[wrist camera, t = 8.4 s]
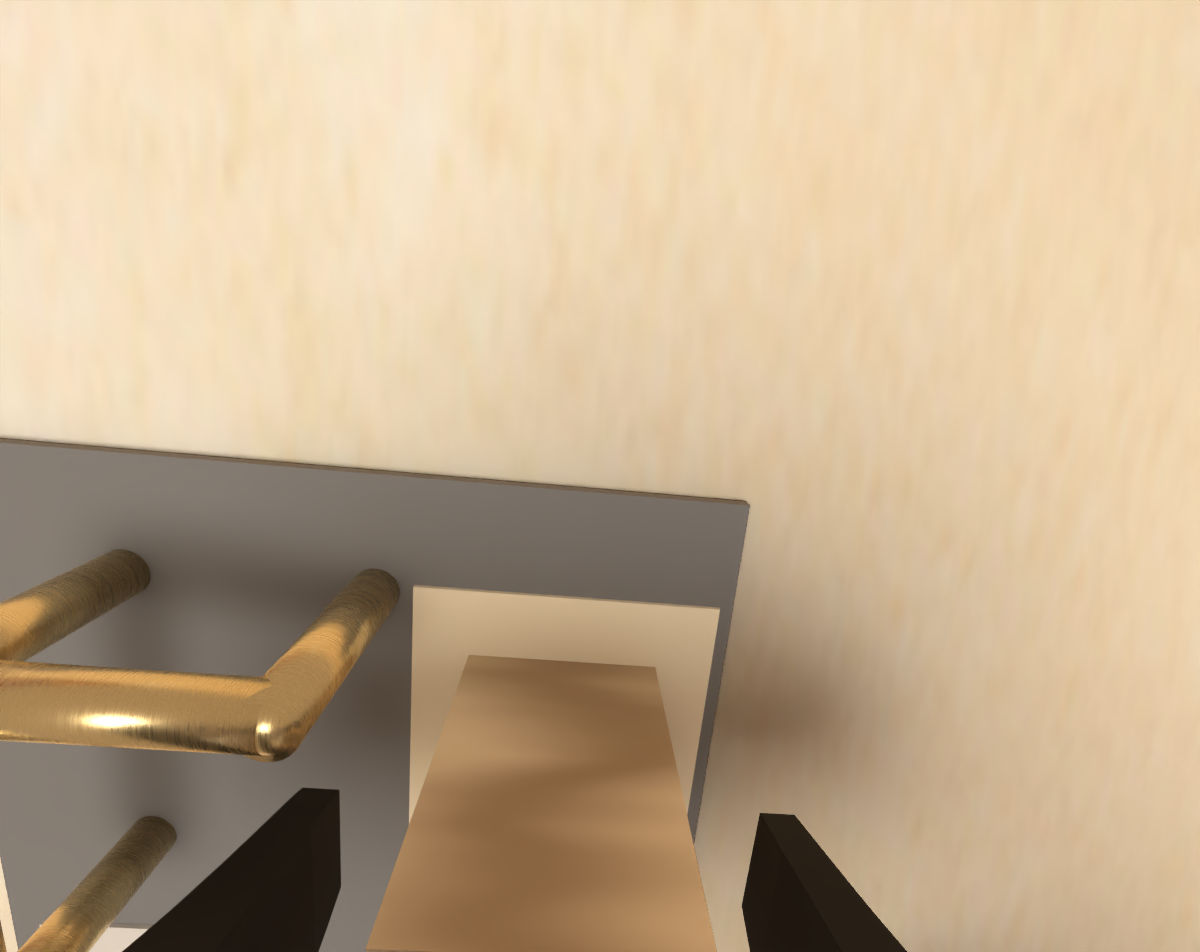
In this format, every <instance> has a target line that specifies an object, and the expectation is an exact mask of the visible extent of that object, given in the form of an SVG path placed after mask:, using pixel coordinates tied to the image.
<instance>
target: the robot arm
mask: <svg viewBox="0 0 1200 952" xmlns="http://www.w3.org/2000/svg"><path fill="white" fill-rule="evenodd" d="M340 889H341V850H340V791H339V790H337V789H319V788H301V789H300V790H299V791H298V792H296V793H295V794H294V795H293V796H292V797H291V798H290V799H289V800H288V801H287V802H286V803H285V804H284V805H283V806H282V807H281V808H280V809H278V810H277V811H276V812H275V813H274V814H273V815H272V816H271V817H270V818H269V819H268V820H267V821H266V822H265V823H264V824H263V825H262V826H261V827H260V828H259V829H258V830H257V831H256V832H254V833H253V834H252V835H251V836H250V837H249V838H248V839H247V840H246V841H245V842H244V843H243V844H242V845H241V846H240V847H239V848H238V849H237V850H235V851H234V852H233V853H232V854H231V855H230V856H229V857H228V858H227V859H226V860H225V861H224V862H223V863H222V864H221V865H219V866H218V867H217V868H216V869H215V870H214V871H213V872H212V873H211V874H210V875H208V876H207V877H206V878H205V879H204V880H203V881H202V882H201V883H200V884H199V885H197V886H196V887H195V888H194V889H193V890H192V891H191V892H190V893H189V894H188V895H187V896H185V897H184V898H183V899H182V900H181V901H180V902H179V903H178V904H177V905H176V906H174V907H173V908H172V909H171V910H170V911H169V912H168V913H166V914H165V915H164V916H163V917H162V918H161V919H160V920H158V921H157V922H156V923H155V924H154V925H153V926H151V927H150V928H149V929H148V930H147V931H146V932H144V933H143V934H142V935H141V936H140V937H139V938H137V939H136V940H135V941H134V942H133V943H131V944H130V945H129V946H128V947H127V948H126V949H124V950H123V951H122V952H319V949H320V946H321V943H322V941H323V938H324V935H325V932H326V930H327V927H328V924H329V921H330V918H331V915H332V912H333V909H334V906H335V903H336V900H337V898H338V895H339V892H340ZM742 909H743V915H744V920H745V926H746V931H747V937H748V942H749V948H750V952H907V951H906V950H905V949H904V948H903V946H902V945H901V944H900V943H899V942H898V940H897V939H896V938H895V937H894V936H893V935H892V933H891V932H890V931H889V930H888V929H887V928H886V926H885V925H884V924H883V923H882V922H881V921H880V919H879V918H878V917H877V916H876V915H875V914H874V912H873V911H872V910H871V909H870V908H869V906H868V905H867V904H866V903H865V902H864V900H863V899H862V898H861V897H860V896H859V894H858V893H857V892H856V891H855V889H854V888H853V887H852V886H851V884H850V883H849V882H848V881H847V880H846V878H845V877H844V876H843V875H842V873H841V872H840V871H839V870H838V868H837V867H836V866H835V865H834V863H833V862H832V861H831V860H830V859H829V857H828V856H827V855H826V854H825V852H824V851H823V850H822V849H821V847H820V846H819V845H818V844H817V842H816V841H815V840H814V839H813V837H812V836H811V835H810V834H809V832H808V831H807V830H806V829H805V827H804V826H803V825H802V824H801V823H800V821H799V820H798V819H797V818H796V816H795V815H786V814H768V813H760V816H759V821H758V826H757V831H756V836H755V841H754V846H753V851H752V857H751V862H750V867H749V872H748V877H747V882H746V887H745V892H744V897H743V902H742Z"/></svg>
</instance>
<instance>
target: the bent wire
mask: <svg viewBox="0 0 1200 952" xmlns="http://www.w3.org/2000/svg"><path fill="white" fill-rule="evenodd" d="M149 582H150V570H149V568H148V565H147V564H146V562H145V561H144V560H143V559H142V558H141V557H140V556H139V555H137V554H136V553H134V552H131V551H128V550H123V549H117V550H112V551H110V552H107V553H105V554H103V555H101V556H99V557H97V558H95V559H92V560H90V561H88V562H86V563H84V564H82V565H80V566H77V567H75V568H73V569H71V570H69V571H67V572H65V573H63V574H60V575H58V576H56V577H54V578H52V579H50V580H48V581H45V582H43V583H41V584H39V585H37V586H35V587H33V588H30V589H28V590H26V591H24V592H22V593H20V594H18V595H15V596H13V597H11V598H9V599H7V600H5V601H3V602H0V741H14V742H32V743H49V744H66V745H83V746H100V747H117V748H134V749H152V750H169V751H186V752H203V753H220V754H237V755H244V756H246V757H248V758H250V759H252V760H255V761H260V762H276V761H280V760H283V759H285V758H287V757H289V756H291V755H292V754H293V753H294V752H295V751H296V750H297V748H298V747H299V745H300V744H301V743H302V741H303V740H304V738H305V737H306V735H307V734H308V732H309V731H310V729H311V728H312V726H313V725H314V723H315V722H316V721H317V719H318V718H319V716H320V715H321V713H322V712H323V710H324V709H325V707H326V706H327V704H328V703H329V701H330V700H331V699H332V697H333V696H334V694H335V693H336V691H337V690H338V688H339V687H340V685H341V684H342V682H343V681H344V680H345V678H346V677H347V675H348V674H349V672H350V671H351V669H352V668H353V666H354V665H355V663H356V662H357V660H358V659H359V658H360V656H361V655H362V653H363V652H364V650H365V649H366V647H367V646H368V644H369V643H370V641H371V640H372V638H373V637H374V636H375V634H376V633H377V631H378V630H379V628H380V627H381V625H382V624H383V622H384V621H385V619H386V618H387V617H388V615H389V614H390V612H391V611H392V609H393V608H394V606H395V605H396V603H397V602H398V599H399V596H400V589H399V585H398V583H397V581H396V580H395V578H394V577H393V576H392V575H391V574H389V573H388V572H386V571H384V570H381V569H375V568H372V569H366V570H363V571H361V572H360V573H358V574H357V575H356V576H355V577H354V578H353V579H352V580H351V582H350V583H349V584H348V585H347V586H346V587H345V588H344V589H343V590H342V591H341V592H340V593H339V595H338V596H337V597H336V598H335V599H334V600H333V601H332V602H331V603H330V604H329V605H328V606H327V607H326V609H325V610H324V611H323V612H322V613H321V614H320V615H319V616H318V617H317V618H316V619H315V620H314V622H313V623H312V624H311V625H310V626H309V627H308V628H307V629H306V630H305V631H304V632H303V633H302V634H301V636H300V637H299V638H298V639H297V640H296V641H295V642H294V643H293V644H292V645H291V646H290V647H289V649H288V650H287V651H286V652H285V653H284V654H283V655H282V656H281V657H280V658H279V659H278V660H277V662H276V663H275V664H274V665H273V666H272V667H271V668H270V669H269V670H268V671H267V672H266V673H265V674H264V676H263V677H253V676H238V675H223V674H207V673H192V672H177V671H161V670H146V669H131V668H115V667H100V666H85V665H69V664H54V663H39V662H24V661H26V660H27V659H29V658H31V657H33V656H34V655H36V654H38V653H39V652H41V651H43V650H44V649H46V648H48V647H49V646H51V645H53V644H55V643H56V642H58V641H60V640H61V639H63V638H65V637H66V636H68V635H70V634H71V633H73V632H75V631H76V630H78V629H80V628H82V627H83V626H85V625H87V624H88V623H90V622H92V621H93V620H95V619H97V618H98V617H100V616H102V615H103V614H105V613H107V612H109V611H110V610H112V609H114V608H115V607H117V606H119V605H120V604H122V603H124V602H125V601H127V600H129V599H130V598H132V597H134V596H136V595H137V594H139V593H141V592H142V591H144V590H145V589H146V588H147V586H148V585H149ZM176 839H177V834H176V831H175V829H174V827H173V826H172V825H171V824H170V823H169V822H168V821H166V820H164V819H162V818H159V817H154V816H147V817H143V818H140V819H138V820H137V821H136V822H135V823H134V824H133V825H132V826H131V827H130V828H129V830H128V831H127V832H126V833H125V834H124V835H123V836H122V837H121V838H120V839H119V841H118V842H117V843H116V844H115V845H114V846H113V847H112V848H111V849H110V850H109V852H108V853H107V854H106V855H105V856H104V857H103V858H102V859H101V860H100V861H99V862H98V864H97V865H96V866H95V867H94V868H93V869H92V870H91V871H90V872H89V873H88V875H87V876H86V877H85V878H84V879H83V880H82V881H81V882H80V883H79V884H78V886H77V887H76V888H75V889H74V890H73V891H72V892H71V893H70V894H69V895H68V897H67V898H66V899H65V900H64V901H63V902H62V903H61V904H60V905H59V906H58V908H57V909H56V910H55V911H54V912H53V913H52V914H51V915H50V916H49V917H48V919H47V920H46V921H45V922H44V923H43V924H42V925H41V926H40V927H39V928H38V930H37V931H36V932H35V933H34V934H33V935H32V936H31V937H30V938H29V939H28V940H27V942H26V943H25V944H24V945H23V946H22V947H21V948H20V949H19V950H18V951H17V952H89V951H90V950H91V949H92V947H93V946H94V945H95V944H96V942H97V941H98V940H99V939H100V937H101V936H102V935H103V933H104V932H105V931H106V930H107V928H108V927H109V926H110V925H111V923H112V922H113V921H114V920H115V918H116V917H117V916H118V915H119V913H120V912H121V911H122V910H123V908H124V907H125V906H126V905H127V903H128V902H129V901H130V900H131V898H132V897H133V896H134V894H135V893H136V892H137V891H138V889H139V888H140V887H141V886H142V884H143V883H144V882H145V881H146V879H147V878H148V877H149V876H150V874H151V873H152V872H153V871H154V869H155V868H156V867H157V866H158V864H159V863H160V862H161V861H162V859H163V858H164V857H165V855H166V854H167V853H168V852H169V850H170V849H171V848H172V847H173V845H174V844H175V842H176ZM0 952H6V947H5V942H4V937H3V932H2V927H1V922H0Z"/></svg>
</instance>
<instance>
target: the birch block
mask: <svg viewBox="0 0 1200 952" xmlns="http://www.w3.org/2000/svg"><path fill="white" fill-rule="evenodd" d="M366 952H717V951H716V946H715V942H714V937H713V932H712V928H711V923H710V918H709V914H708V909H707V905H706V900H705V895H704V891H703V886H702V881H701V877H700V872H699V868H698V863H697V858H696V854H695V849H694V844H693V840H692V835H691V831H690V826H689V821H688V817H687V812H686V807H685V803H684V798H683V794H682V789H681V784H680V780H679V775H678V770H677V766H676V761H675V757H674V752H673V747H672V743H671V738H670V733H669V729H668V724H667V720H666V715H665V710H664V706H663V701H662V696H661V692H660V687H659V683H658V678H657V673H656V669H655V667H646V666H631V665H616V664H601V663H586V662H570V661H555V660H540V659H525V658H510V657H495V656H479V655H469V656H468V658H467V661H466V664H465V667H464V670H463V673H462V675H461V678H460V681H459V684H458V687H457V690H456V693H455V695H454V698H453V701H452V704H451V707H450V710H449V713H448V715H447V718H446V721H445V724H444V727H443V730H442V732H441V735H440V738H439V741H438V744H437V747H436V750H435V752H434V755H433V758H432V761H431V764H430V767H429V769H428V772H427V775H426V778H425V781H424V784H423V787H422V789H421V792H420V795H419V798H418V801H417V804H416V807H415V809H414V812H413V815H412V818H411V821H410V824H409V826H408V829H407V832H406V835H405V838H404V841H403V844H402V846H401V849H400V852H399V855H398V858H397V861H396V864H395V866H394V869H393V872H392V875H391V878H390V881H389V883H388V886H387V889H386V892H385V895H384V898H383V901H382V903H381V906H380V909H379V912H378V915H377V918H376V920H375V923H374V926H373V929H372V932H371V935H370V938H369V940H368V943H367V946H366Z"/></svg>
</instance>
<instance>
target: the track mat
mask: <svg viewBox="0 0 1200 952" xmlns="http://www.w3.org/2000/svg"><path fill="white" fill-rule="evenodd" d="M749 508H750V505H749V504H748V503H747V502H746V501H736V500H724V499H712V498H700V497H688V496H676V495H665V494H653V493H641V492H629V491H617V490H605V489H593V488H581V487H570V486H558V485H546V484H534V483H522V482H510V481H498V480H486V479H475V478H463V477H451V476H439V475H427V474H415V473H403V472H391V471H380V470H368V469H356V468H344V467H332V466H320V465H308V464H297V463H285V462H273V461H261V460H249V459H237V458H225V457H213V456H202V455H190V454H178V453H166V452H154V451H142V450H130V449H118V448H107V447H95V446H83V445H71V444H59V443H47V442H35V441H23V440H12V439H0V602H3V601H5V600H7V599H9V598H11V597H13V596H15V595H18V594H20V593H22V592H24V591H26V590H28V589H30V588H33V587H35V586H37V585H39V584H41V583H43V582H45V581H48V580H50V579H52V578H54V577H56V576H58V575H60V574H63V573H65V572H67V571H69V570H71V569H73V568H75V567H77V566H80V565H82V564H84V563H86V562H88V561H90V560H92V559H95V558H97V557H99V556H101V555H103V554H105V553H107V552H110V551H112V550H117V549H123V550H128V551H131V552H134V553H136V554H137V555H139V556H140V557H141V558H142V559H143V560H144V561H145V562H146V564H147V565H148V568H149V570H150V582H149V585H148V586H147V588H146V589H145V590H144V591H142V592H141V593H139V594H137V595H136V596H134V597H132V598H130V599H129V600H127V601H125V602H124V603H122V604H120V605H119V606H117V607H115V608H114V609H112V610H110V611H109V612H107V613H105V614H103V615H102V616H100V617H98V618H97V619H95V620H93V621H92V622H90V623H88V624H87V625H85V626H83V627H82V628H80V629H78V630H76V631H75V632H73V633H71V634H70V635H68V636H66V637H65V638H63V639H61V640H60V641H58V642H56V643H55V644H53V645H51V646H49V647H48V648H46V649H44V650H43V651H41V652H39V653H38V654H36V655H34V656H33V657H31V658H29V659H27V660H26V661H24V662H39V663H54V664H69V665H85V666H100V667H115V668H131V669H146V670H161V671H177V672H192V673H207V674H223V675H238V676H253V677H263V676H264V674H265V673H266V672H267V671H268V670H269V669H270V668H271V667H272V666H273V665H274V664H275V663H276V662H277V660H278V659H279V658H280V657H281V656H282V655H283V654H284V653H285V652H286V651H287V650H288V649H289V647H290V646H291V645H292V644H293V643H294V642H295V641H296V640H297V639H298V638H299V637H300V636H301V634H302V633H303V632H304V631H305V630H306V629H307V628H308V627H309V626H310V625H311V624H312V623H313V622H314V620H315V619H316V618H317V617H318V616H319V615H320V614H321V613H322V612H323V611H324V610H325V609H326V607H327V606H328V605H329V604H330V603H331V602H332V601H333V600H334V599H335V598H336V597H337V596H338V595H339V593H340V592H341V591H342V590H343V589H344V588H345V587H346V586H347V585H348V584H349V583H350V582H351V580H352V579H353V578H354V577H355V576H356V575H357V574H358V573H360V572H361V571H363V570H366V569H372V568H375V569H381V570H384V571H386V572H388V573H389V574H391V575H392V576H393V577H394V578H395V580H396V581H397V583H398V585H399V589H400V596H399V599H398V602H397V603H396V605H395V606H394V608H393V609H392V611H391V612H390V614H389V615H388V617H387V618H386V619H385V621H384V622H383V624H382V625H381V627H380V628H379V630H378V631H377V633H376V634H375V636H374V637H373V638H372V640H371V641H370V643H369V644H368V646H367V647H366V649H365V650H364V652H363V653H362V655H361V656H360V658H359V659H358V660H357V662H356V663H355V665H354V666H353V668H352V669H351V671H350V672H349V674H348V675H347V677H346V678H345V680H344V681H343V682H342V684H341V685H340V687H339V688H338V690H337V691H336V693H335V694H334V696H333V697H332V699H331V700H330V701H329V703H328V704H327V706H326V707H325V709H324V710H323V712H322V713H321V715H320V716H319V718H318V719H317V721H316V722H315V723H314V725H313V726H312V728H311V729H310V731H309V732H308V734H307V735H306V737H305V738H304V740H303V741H302V743H301V744H300V745H299V747H298V748H297V750H296V751H295V752H294V753H293V754H292V755H291V756H289V757H287V758H285V759H283V760H280V761H276V762H260V761H255V760H252V759H250V758H248V757H246V756H244V755H237V754H220V753H203V752H186V751H169V750H152V749H134V748H117V747H100V746H83V745H66V744H49V743H32V742H14V741H0V858H1V863H2V868H3V873H4V878H5V883H6V889H7V894H8V899H9V904H10V909H11V914H12V920H13V925H14V930H15V935H16V940H17V945H18V950H19V949H20V948H21V947H22V946H23V945H24V944H25V943H26V942H27V940H28V939H29V938H30V937H31V936H32V935H33V934H34V933H35V932H36V931H37V930H38V928H39V927H40V926H41V925H42V924H43V923H44V922H45V921H46V920H47V919H48V917H49V916H50V915H51V914H52V913H53V912H54V911H55V910H56V909H57V908H58V906H59V905H60V904H61V903H62V902H63V901H64V900H65V899H66V898H67V897H68V895H69V894H70V893H71V892H72V891H73V890H74V889H75V888H76V887H77V886H78V884H79V883H80V882H81V881H82V880H83V879H84V878H85V877H86V876H87V875H88V873H89V872H90V871H91V870H92V869H93V868H94V867H95V866H96V865H97V864H98V862H99V861H100V860H101V859H102V858H103V857H104V856H105V855H106V854H107V853H108V852H109V850H110V849H111V848H112V847H113V846H114V845H115V844H116V843H117V842H118V841H119V839H120V838H121V837H122V836H123V835H124V834H125V833H126V832H127V831H128V830H129V828H130V827H131V826H132V825H133V824H134V823H135V822H136V821H137V820H138V819H140V818H143V817H147V816H154V817H159V818H162V819H164V820H166V821H168V822H169V823H170V824H171V825H172V826H173V827H174V829H175V831H176V834H177V839H176V842H175V844H174V845H173V847H172V848H171V849H170V850H169V852H168V853H167V854H166V855H165V857H164V858H163V859H162V861H161V862H160V863H159V864H158V866H157V867H156V868H155V869H154V871H153V872H152V873H151V874H150V876H149V877H148V878H147V879H146V881H145V882H144V883H143V884H142V886H141V887H140V888H139V889H138V891H137V892H136V893H135V894H134V896H133V897H132V898H131V900H130V901H129V902H128V903H127V905H126V906H125V907H124V908H123V910H122V911H121V912H120V913H119V915H118V916H117V917H116V918H115V920H114V921H113V922H112V923H111V925H110V926H109V927H108V928H107V930H106V931H105V932H104V933H103V935H102V936H101V937H100V939H99V940H98V941H97V942H96V944H95V945H94V946H93V947H92V949H91V950H90V951H89V952H122V951H123V950H124V949H126V948H127V947H128V946H129V945H130V944H131V943H133V942H134V941H135V940H136V939H137V938H139V937H140V936H141V935H142V934H143V933H144V932H146V931H147V930H148V929H149V928H150V927H151V926H153V925H154V924H155V923H156V922H157V921H158V920H160V919H161V918H162V917H163V916H164V915H165V914H166V913H168V912H169V911H170V910H171V909H172V908H173V907H174V906H176V905H177V904H178V903H179V902H180V901H181V900H182V899H183V898H184V897H185V896H187V895H188V894H189V893H190V892H191V891H192V890H193V889H194V888H195V887H196V886H197V885H199V884H200V883H201V882H202V881H203V880H204V879H205V878H206V877H207V876H208V875H210V874H211V873H212V872H213V871H214V870H215V869H216V868H217V867H218V866H219V865H221V864H222V863H223V862H224V861H225V860H226V859H227V858H228V857H229V856H230V855H231V854H232V853H233V852H234V851H235V850H237V849H238V848H239V847H240V846H241V845H242V844H243V843H244V842H245V841H246V840H247V839H248V838H249V837H250V836H251V835H252V834H253V833H254V832H256V831H257V830H258V829H259V828H260V827H261V826H262V825H263V824H264V823H265V822H266V821H267V820H268V819H269V818H270V817H271V816H272V815H273V814H274V813H275V812H276V811H277V810H278V809H280V808H281V807H282V806H283V805H284V804H285V803H286V802H287V801H288V800H289V799H290V798H291V797H292V796H293V795H294V794H295V793H296V792H298V791H299V790H300V789H301V788H319V789H337V790H339V791H340V850H341V889H340V892H339V895H338V898H337V900H336V903H335V906H334V909H333V912H332V915H331V918H330V921H329V924H328V927H327V930H326V932H325V935H324V938H323V941H322V943H321V946H320V949H319V952H366V946H367V943H368V940H369V938H370V935H371V932H372V929H373V926H374V923H375V920H376V918H377V915H378V912H379V909H380V906H381V903H382V901H383V898H384V895H385V892H386V889H387V886H388V883H389V881H390V878H391V875H392V872H393V869H394V866H395V864H396V861H397V858H398V855H399V852H400V849H401V846H402V844H403V841H404V838H405V835H406V832H407V829H408V826H409V824H410V821H411V818H412V815H413V812H414V809H415V807H416V804H417V801H418V798H419V795H420V792H421V789H422V787H423V784H424V781H425V778H426V775H427V772H428V769H429V767H430V764H431V761H432V758H433V755H434V752H435V750H436V747H437V744H438V741H439V738H440V735H441V732H442V730H443V727H444V724H445V721H446V718H447V715H448V713H449V710H450V707H451V704H452V701H453V698H454V695H455V693H456V690H457V687H458V684H459V681H460V678H461V675H462V673H463V670H464V667H465V664H466V661H467V658H468V656H469V655H479V656H495V657H510V658H525V659H540V660H555V661H570V662H586V663H601V664H616V665H631V666H646V667H655V669H656V673H657V678H658V683H659V687H660V692H661V696H662V701H663V706H664V710H665V715H666V720H667V724H668V729H669V733H670V738H671V743H672V747H673V752H674V757H675V761H676V766H677V770H678V775H679V780H680V784H681V789H682V794H683V798H684V803H685V807H686V812H687V817H688V821H689V826H690V831H691V835H692V840H693V844H694V840H695V834H696V828H697V822H698V816H699V810H700V804H701V798H702V792H703V786H704V780H705V774H706V768H707V762H708V756H709V750H710V743H711V737H712V731H713V725H714V719H715V713H716V707H717V701H718V695H719V689H720V683H721V677H722V671H723V665H724V659H725V653H726V647H727V641H728V635H729V629H730V623H731V617H732V611H733V605H734V598H735V592H736V586H737V580H738V574H739V568H740V562H741V556H742V550H743V544H744V538H745V532H746V526H747V520H748V514H749Z"/></svg>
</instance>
